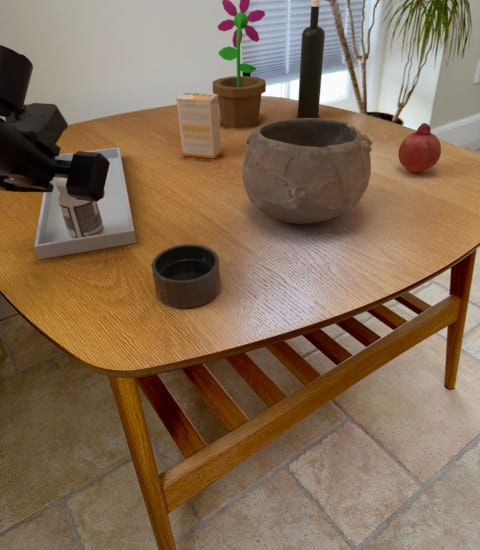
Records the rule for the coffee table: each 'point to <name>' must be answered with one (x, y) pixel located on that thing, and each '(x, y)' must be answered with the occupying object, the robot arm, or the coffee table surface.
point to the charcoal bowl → (186, 275)
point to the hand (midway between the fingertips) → (77, 192)
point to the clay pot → (306, 169)
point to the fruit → (420, 150)
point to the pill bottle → (79, 214)
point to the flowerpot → (239, 89)
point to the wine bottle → (311, 66)
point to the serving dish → (112, 210)
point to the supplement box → (199, 124)
